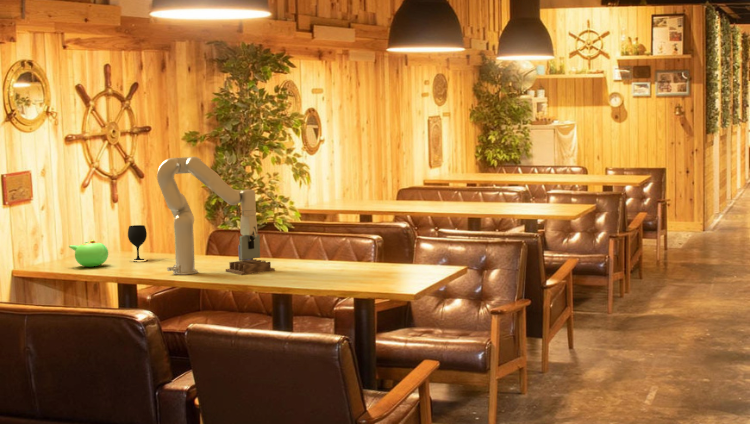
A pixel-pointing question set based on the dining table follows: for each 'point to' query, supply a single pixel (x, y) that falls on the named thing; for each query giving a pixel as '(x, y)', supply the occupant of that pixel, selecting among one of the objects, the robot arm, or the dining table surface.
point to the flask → (239, 254)
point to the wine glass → (137, 237)
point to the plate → (245, 251)
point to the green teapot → (90, 253)
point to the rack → (249, 267)
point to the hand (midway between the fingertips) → (249, 248)
